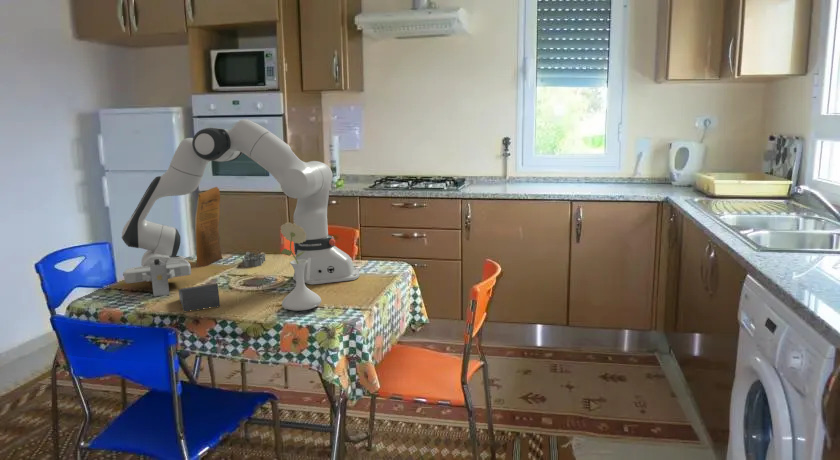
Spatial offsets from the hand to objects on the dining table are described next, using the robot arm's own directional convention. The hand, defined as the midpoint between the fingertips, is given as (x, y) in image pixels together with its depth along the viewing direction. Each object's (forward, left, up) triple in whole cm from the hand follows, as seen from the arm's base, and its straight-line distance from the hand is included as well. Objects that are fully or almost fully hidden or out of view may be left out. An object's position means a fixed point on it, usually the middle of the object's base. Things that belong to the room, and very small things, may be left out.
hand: (159, 277), depth 200 cm
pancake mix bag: (-7, -41, -6) cm, 42 cm away
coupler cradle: (-15, +12, -6) cm, 20 cm away
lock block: (0, -1, -6) cm, 6 cm away
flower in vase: (-46, +22, -6) cm, 51 cm away
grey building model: (-24, -35, -6) cm, 43 cm away
